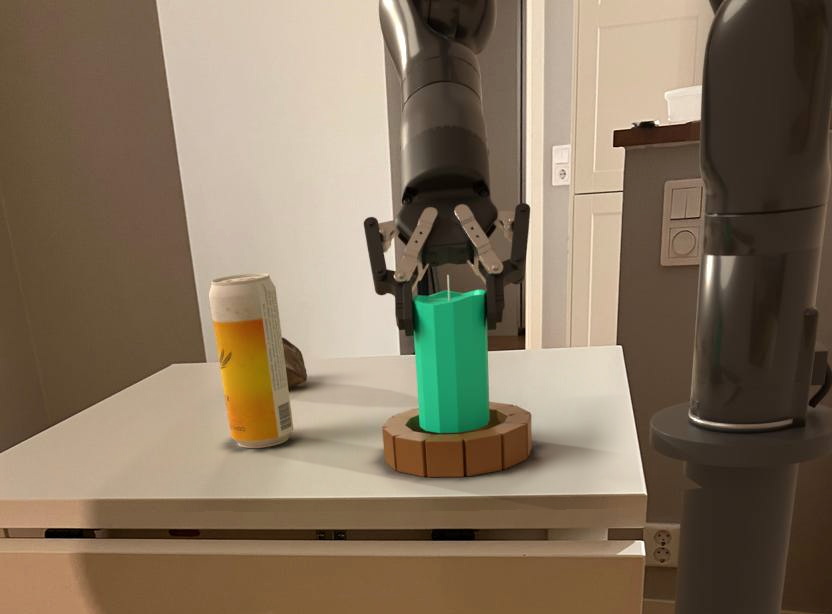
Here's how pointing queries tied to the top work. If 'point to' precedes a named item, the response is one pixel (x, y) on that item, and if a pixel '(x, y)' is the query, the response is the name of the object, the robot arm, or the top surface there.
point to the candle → (452, 360)
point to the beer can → (251, 359)
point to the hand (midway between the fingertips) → (450, 326)
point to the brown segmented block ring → (458, 444)
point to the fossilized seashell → (293, 364)
